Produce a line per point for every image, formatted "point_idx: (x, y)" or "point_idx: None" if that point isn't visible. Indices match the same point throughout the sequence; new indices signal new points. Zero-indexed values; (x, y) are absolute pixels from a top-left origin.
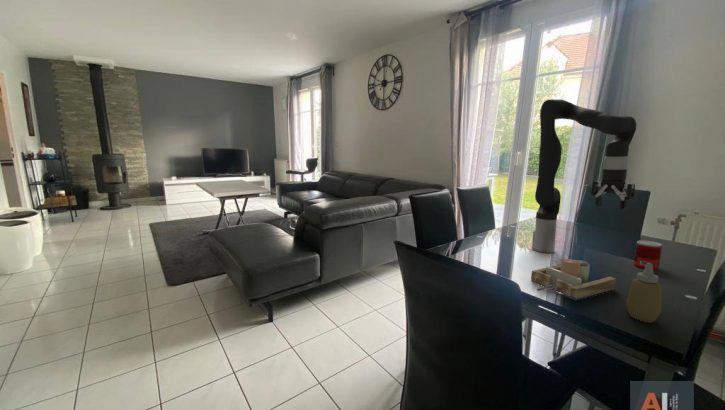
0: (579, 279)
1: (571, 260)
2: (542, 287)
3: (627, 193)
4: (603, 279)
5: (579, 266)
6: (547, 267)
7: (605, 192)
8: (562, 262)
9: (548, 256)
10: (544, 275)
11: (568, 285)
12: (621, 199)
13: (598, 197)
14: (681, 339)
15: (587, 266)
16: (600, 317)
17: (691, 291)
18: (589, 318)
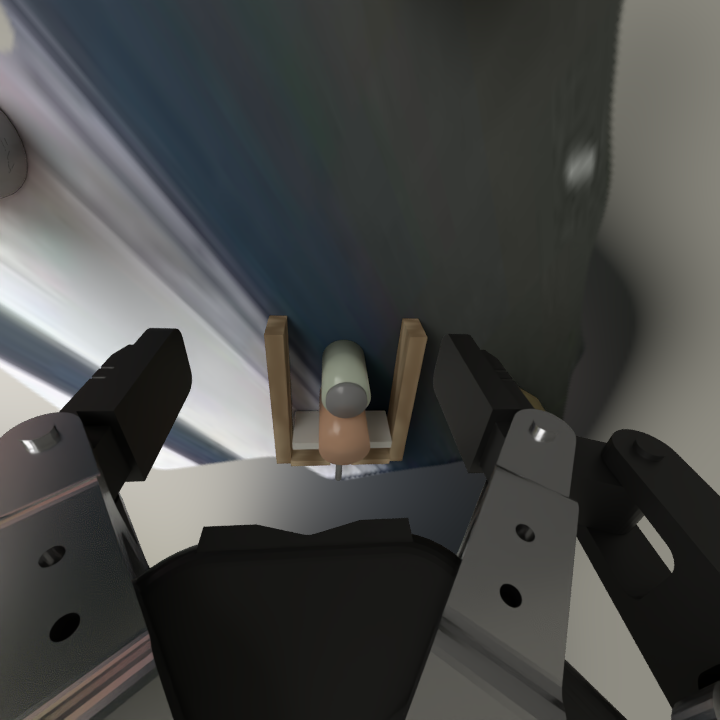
0: (390, 446)
1: (338, 439)
2: (339, 472)
3: (623, 603)
4: (409, 371)
5: (368, 436)
6: (296, 449)
7: (118, 519)
8: (333, 462)
9: (84, 218)
10: (316, 463)
11: (381, 462)
12: (485, 489)
13: (119, 472)
14: (559, 411)
15: (369, 399)
16: (452, 448)
17: (585, 97)
18: (442, 463)
